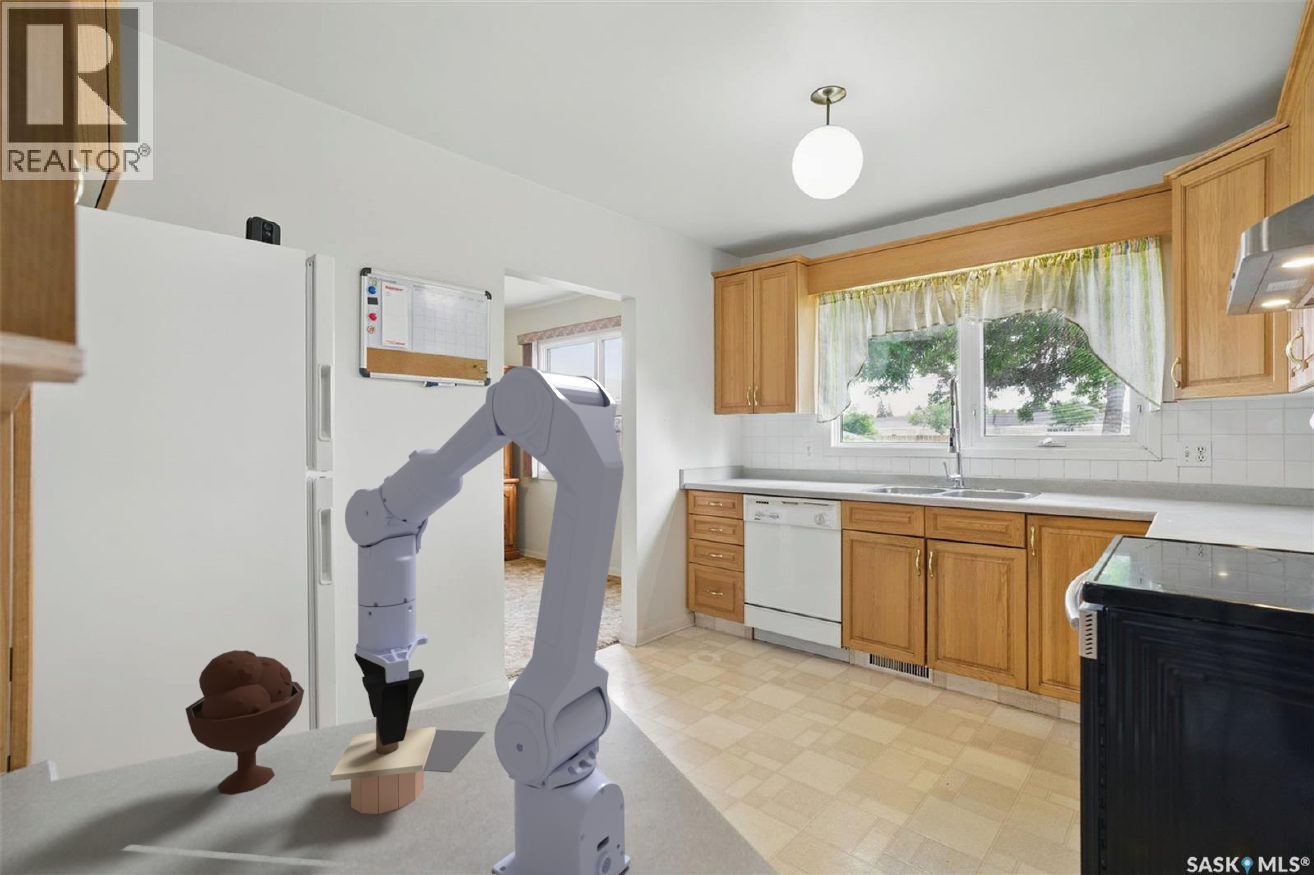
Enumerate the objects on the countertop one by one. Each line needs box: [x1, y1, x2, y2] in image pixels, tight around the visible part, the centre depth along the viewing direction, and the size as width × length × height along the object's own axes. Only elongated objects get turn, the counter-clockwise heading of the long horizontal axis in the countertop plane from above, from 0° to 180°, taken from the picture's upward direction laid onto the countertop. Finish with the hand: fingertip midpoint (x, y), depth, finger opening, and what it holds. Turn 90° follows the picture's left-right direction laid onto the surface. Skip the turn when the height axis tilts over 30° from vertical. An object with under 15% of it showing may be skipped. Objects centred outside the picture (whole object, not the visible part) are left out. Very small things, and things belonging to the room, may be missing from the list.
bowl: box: [350, 771, 424, 815], centre depth 65 cm, size 7×7×4 cm
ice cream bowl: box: [185, 649, 305, 795], centre depth 68 cm, size 11×11×15 cm
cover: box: [330, 720, 437, 782], centre depth 65 cm, size 9×9×4 cm
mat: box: [423, 729, 486, 773], centre depth 74 cm, size 10×10×1 cm
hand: (387, 727), depth 65 cm, fingers open, 7 cm apart
